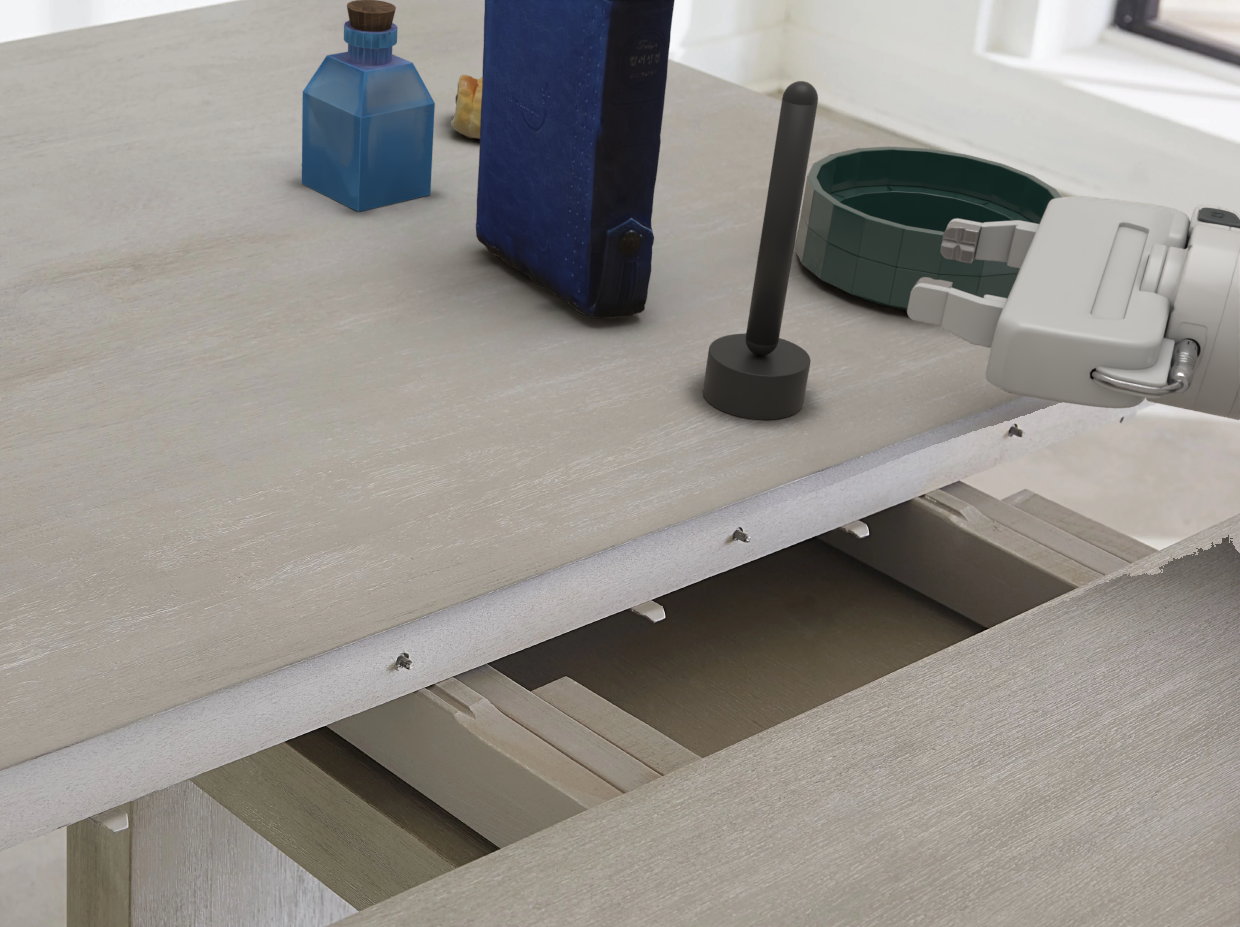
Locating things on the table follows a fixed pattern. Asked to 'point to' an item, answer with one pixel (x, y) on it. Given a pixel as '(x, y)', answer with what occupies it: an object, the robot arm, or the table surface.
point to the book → (573, 144)
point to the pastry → (468, 107)
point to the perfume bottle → (368, 118)
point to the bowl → (908, 219)
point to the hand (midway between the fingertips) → (928, 265)
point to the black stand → (770, 287)
